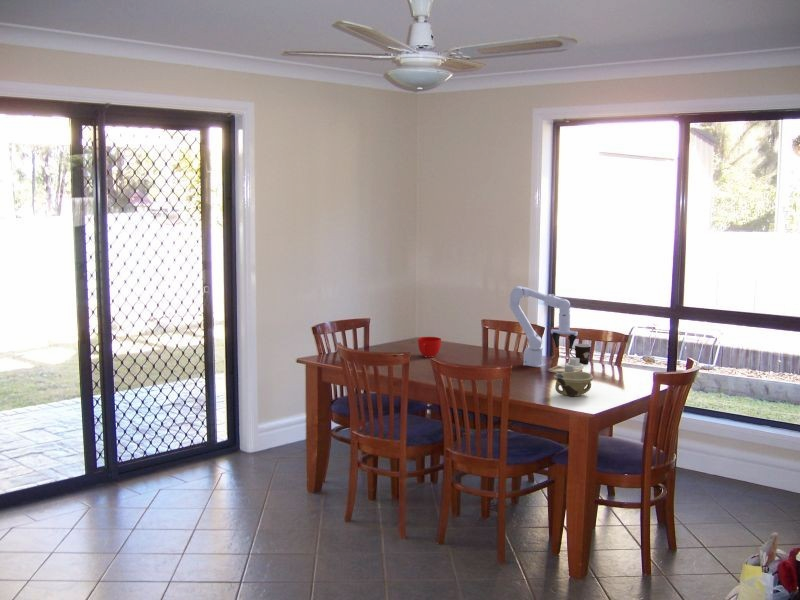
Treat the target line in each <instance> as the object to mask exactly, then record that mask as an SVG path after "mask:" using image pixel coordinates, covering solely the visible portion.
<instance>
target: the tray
mask: <svg viewBox="0 0 800 600" xmlns="http://www.w3.org/2000/svg"><path fill="white" fill-rule="evenodd" d="M547 372H551V373H556V374H559V373H565V366H563V365H557V366H553V367H551V368H548V369H547ZM574 372H583V369H576V368H574Z"/></svg>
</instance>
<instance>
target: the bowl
mask: <svg viewBox="0 0 800 600" xmlns="http://www.w3.org/2000/svg"><path fill="white" fill-rule="evenodd" d="M593 378H594V376H593V374H591V373H590V372H586V371H582V372H565V373H556V374H554V375H553V379H554V380H555V381H556V382H555V385H554V387H555V391H556V392H557V393H559V394H560V395H562V396H564V395H565V396H566V397H579V396H581V395H584V394H587V393H588V392H589V391H590V390H591V388H592V383H591V382H592V381H593ZM560 387H561V389H562V390H561V389H560Z"/></svg>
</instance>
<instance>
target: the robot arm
mask: <svg viewBox="0 0 800 600" xmlns="http://www.w3.org/2000/svg"><path fill="white" fill-rule="evenodd" d="M523 297H524V298H529V297H531V298H533V299H536V300H539V301H543V302H544V304H545V305H548V306H550V307H552V308H555V309H559V313H558V329H555V328H554V329H550V334H551V337H552V338H553V342H554V344H555V347H556V348H559V347H560V337H561V335H567V337H568V350H571V349H572V348H573V346H574V343H575V340H576V339H577V338H578V337H577V336H579V335H578V334H579V332H578V331H574V330H571V329H570V328H571V310H570V309H571V302H570V301H569V300H568V299H566V298H564V297H559V296H556V295H555V293H552V294H551V293H549V294H547V295H546V294H544V293H541V292H539V291H538V290H535V289H533V288H529V287H526V286H522V285H516V286H514V287H513V288H512V290H511V291H510V295H509V308H510V310H511V311H512V313H513V314H514V317H515V318H516V320H517V321H518V323H519V325H520V327H521V328H522V330H523V332H524V334H525V335H526V338H527V341H528V346H529V347H526V348H525V349H524V352H523V364H522V365H523V366H527V367H528V366H529V367H536V368H540V367H543V366H545V365H546V364H545V363H543V348H542V345H543V338H542V337H541V336H540V335H539V334H538V333H537V331H535V329H534V328H533V326H532V324H531V322H530V321H529V319H528V317H527V316H526V314H525V312H524V311H523V309H522V307H521V305H520V304H521V301H522V300H521V299H522V298H523Z"/></svg>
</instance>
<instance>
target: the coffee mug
mask: <svg viewBox="0 0 800 600" xmlns="http://www.w3.org/2000/svg"><path fill="white" fill-rule="evenodd" d="M591 348H592V345H591V344H588V343H587V344H586V343H577V344H574V347H572V349H569V354H570V356H571V358H573V357H574V358H580V362H579V363H581V364H583V365H584V366H585V365H589V362H590V355H591ZM572 350H574V352H575V353H574V354H575V356H574V355H573V354H572V353H571V352H572Z"/></svg>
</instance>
